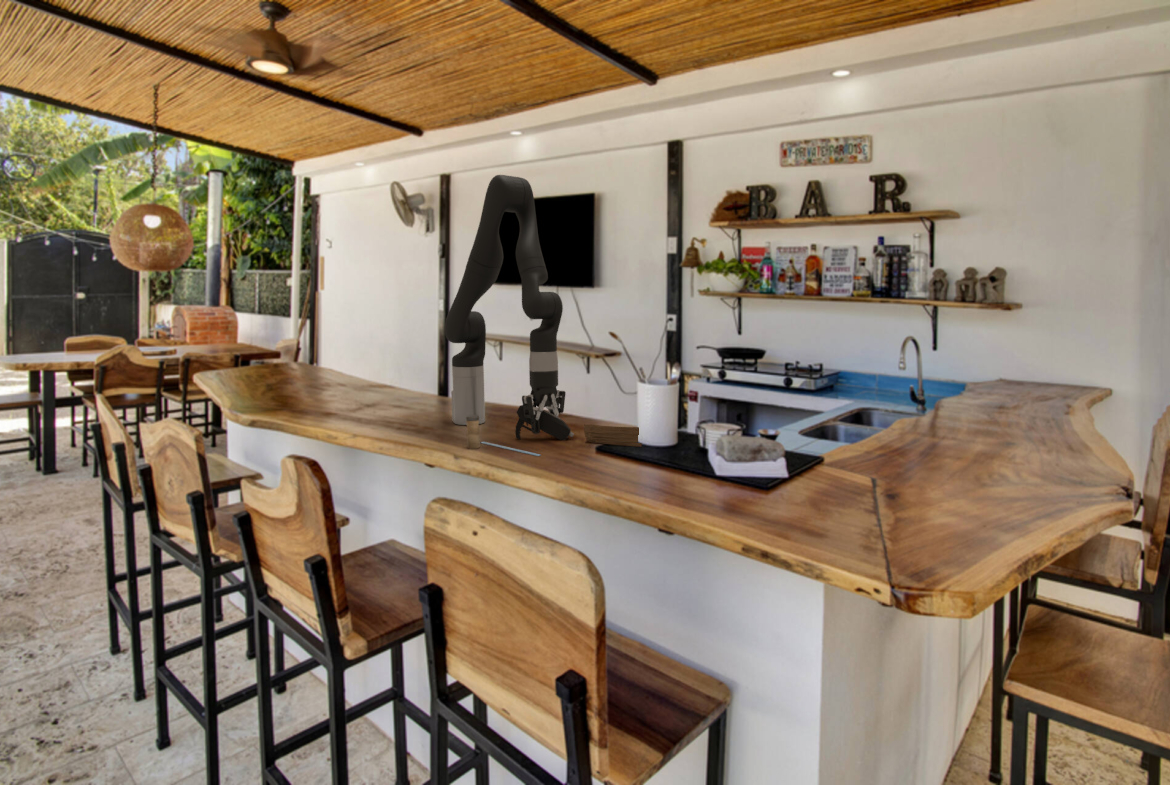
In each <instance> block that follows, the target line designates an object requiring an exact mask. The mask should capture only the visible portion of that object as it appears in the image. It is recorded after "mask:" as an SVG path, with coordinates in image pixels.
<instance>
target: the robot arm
mask: <svg viewBox="0 0 1170 785" xmlns="http://www.w3.org/2000/svg"><path fill="white" fill-rule="evenodd" d="M535 204H536V203H535V197H534V192H533V189H532V186H531V183H530V182H529V181H528V180H527V179H526V178H523V177H520V176H512V175H507V174H506V175H505V174H496V175H495V176H493V177H492V178H491V179H490V181H489V182H488V185H487V189H486V192H485V197H484V202H483V205H482V211H481V215H480V219H479V220H480V221H479V224H478V228H477V231H476V235H475V238H474V240H473V244H472V248H471V250H470V251H469V256H468V259H467V262H466V265H465V269H464V274H463V276H462V279H461V281H460V284H459V287H458V290H457V293H456V295H455V297H454V300H453V302H452V304H451V306H450V309H449V310H448V313H447V315H446V318H445V323H444V335H445V337H446V338H445V339H447V340H448V342H450V343H452V344H464V348H463V349H462V350H461V351H460V352H458V353H456V354H454V355H453V357H452V358H451V369H452V370H451V372H452V374H451V375H452V391H451V417H452V418H451V420H452V422H453V424H455V425H459V426H467V420H466V416H470V415H477V416H479V425H480V424H483V423H486V414H485V413H486V411H485V410H486V405H485V404H486V403H485V400H486V399H485V374H484V373H485V372H484V371H485V370H484V360H485V357H486V340H487V336H486V335H487V332H486V331H487V327H486V326H487V324H486V320H485V319H484V318H485V317H484V316H483V315H482V313H480V312H478V311H473V308H474V306H475V305H476V303H477V302H478V301H479V300H480V299H481V298H482V297H483V296H484V295H485V294H486V293H487V292H488V291H489V290H490V289H491V287H492V286H493V285H494V284H495V283H496V281H497V280H498V276H499V274H500V272H501V269H502V267H503V266H502V265H503V262H504V250H503V246H502V241H501V237H500V226H501V222H502V219H503V216H504V213H506V212H507V213H515V215H516V218H517V220H518V223H519V224H518V225H519V235H518V239H517V242H516V246H515V260H516V265H517V270H518V272H519V276H520V279H521V308H522V310H523V312H524V314H525V316H526V317H527V318H529V319H531V320H541V322H540V325H539V326H538V327H537V328H534V329H532V330H530V333H529V358H528V359H529V360H528V362H529V364H528V365H529V366H528V368H529V370H528V371H529V372H528V373H529V386H530V387H531V392H530V394H528V395H522V396H521V402H522V405H523V409H524V416H525V417H526V418H530V419H531V425H530V428H531V430H532V431H531V432H532V434H535V435H539V434H541V430H540V420H538V419H539V417H540V414H541V412H542V411H544V408H546V409H547V412H549V413H551V414H553V415H555V416H557V417H559V415H561V414H563V413H564V409H565V404H566V403H565V401H566V400H565V399H566V391H565V390H557V389H558V388H557V387H558V386H559V359H558V345H557V344H558V342H557V339H558V338H557V337H558V333H559V329H560V328H559V327H560V324H561V321H562V316H563V311H564V310H563V309H564V308H563V306H564V304H563V302H562V299H561V296H560V295H559V293H556V292H554V291H540V286H542V285H543V284H545V283H546V282H547V281H548V279H549V274H548V270H547V267H546V263H545V260H544V256H543V252H542V248H541V244H540V238H539V233H538V230H539V229H538V223H537V222H538V221H537V214H536V205H535ZM528 410H529V411H528ZM535 412H536V415H535Z"/></svg>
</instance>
